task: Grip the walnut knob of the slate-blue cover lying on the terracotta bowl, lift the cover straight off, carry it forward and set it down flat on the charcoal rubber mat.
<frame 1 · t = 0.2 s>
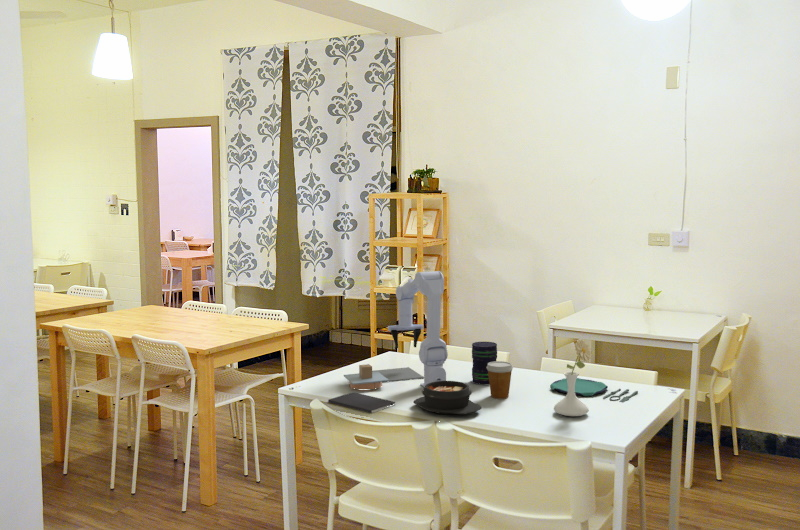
hand: (405, 347, 309), 10 cm above the table, tool pointing down, fingers open, 7 cm apart
cover: (365, 378, 286), point 3 cm above the table, touching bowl
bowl: (366, 386, 287), on the table
notebook: (362, 405, 263), on the table
storage jar: (484, 382, 291), on the table
casserole: (447, 410, 254), on the table
mat: (395, 375, 303), on the table
disposable coffee cup: (499, 397, 270), on the table
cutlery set: (591, 393, 274), on the table
flower in vase: (573, 414, 248), on the table
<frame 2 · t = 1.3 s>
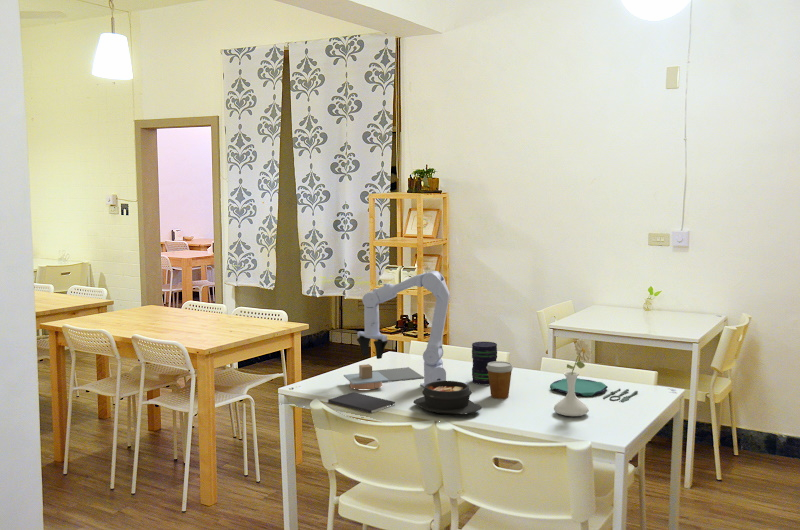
hand: (372, 357, 290), 10 cm above the table, tool pointing down, fingers open, 7 cm apart
nothing on the table moved.
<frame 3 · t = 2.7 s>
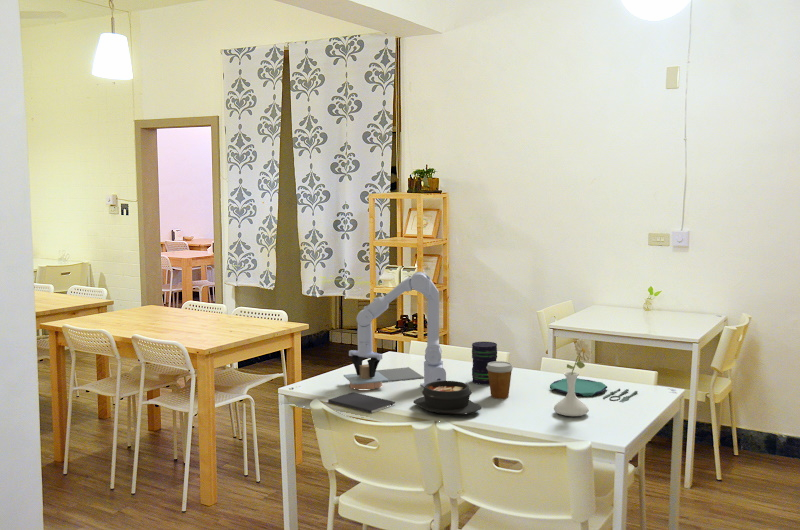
hand: (365, 376, 286), 4 cm above the table, tool pointing down, fingers closed on cover, 6 cm apart
cover: (365, 378, 286), point 3 cm above the table, touching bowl, gripper
everything else where it was.
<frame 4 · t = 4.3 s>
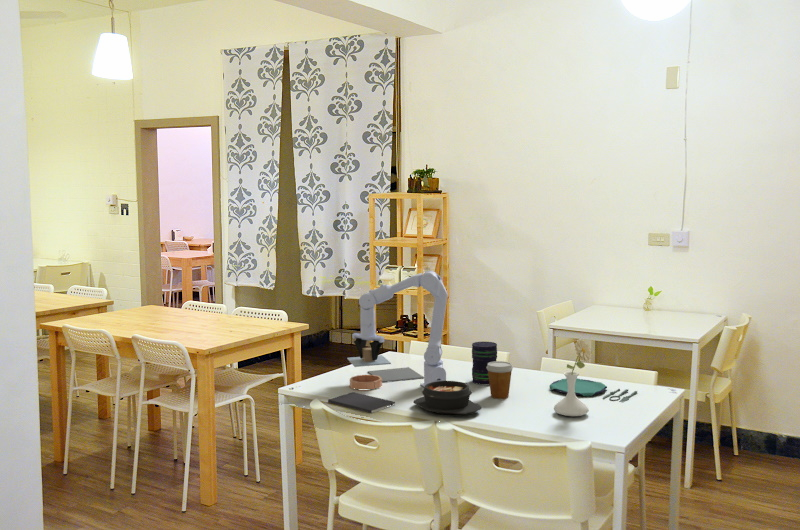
hand: (368, 358, 287), 10 cm above the table, tool pointing down, fingers closed on cover, 6 cm apart
cover: (368, 361, 287), point 9 cm above the table, touching gripper
everything else where it was.
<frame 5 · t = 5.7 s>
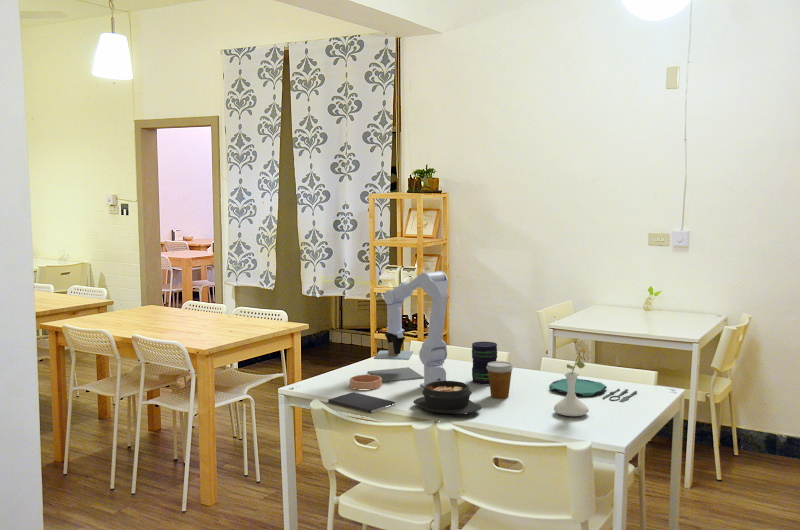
hand: (395, 352, 302), 9 cm above the table, tool pointing down, fingers closed on cover, 5 cm apart
cover: (394, 355, 302), point 8 cm above the table, touching gripper
everything else where it was.
when the fingers open (3 cm above the table, at t = 7.2 s): cover stays where it is, resting on mat.
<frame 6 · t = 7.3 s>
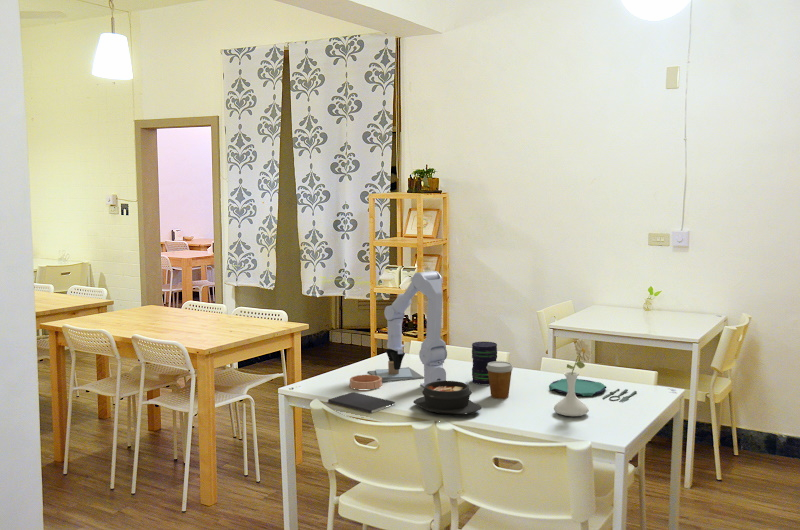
hand: (395, 368, 303), 3 cm above the table, tool pointing down, fingers open, 5 cm apart
cover: (393, 374, 303), point 1 cm above the table, touching mat
everything else where it was.
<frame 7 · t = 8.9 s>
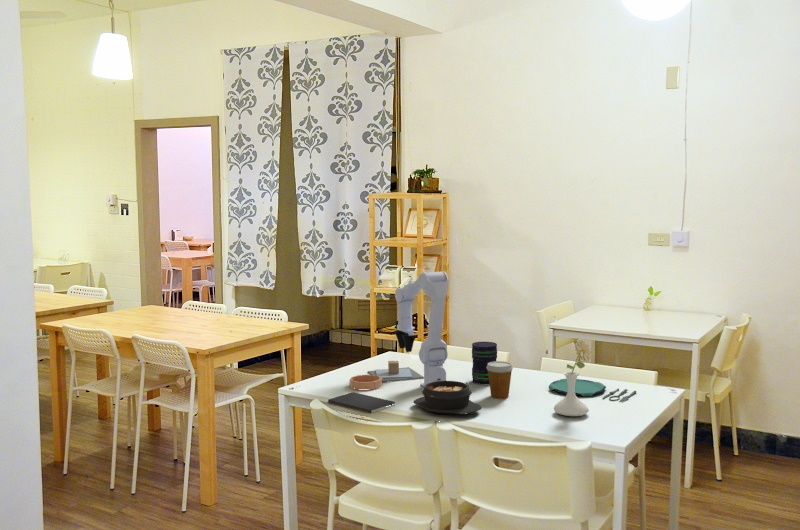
hand: (405, 349, 304), 10 cm above the table, tool pointing down, fingers open, 7 cm apart
nothing on the table moved.
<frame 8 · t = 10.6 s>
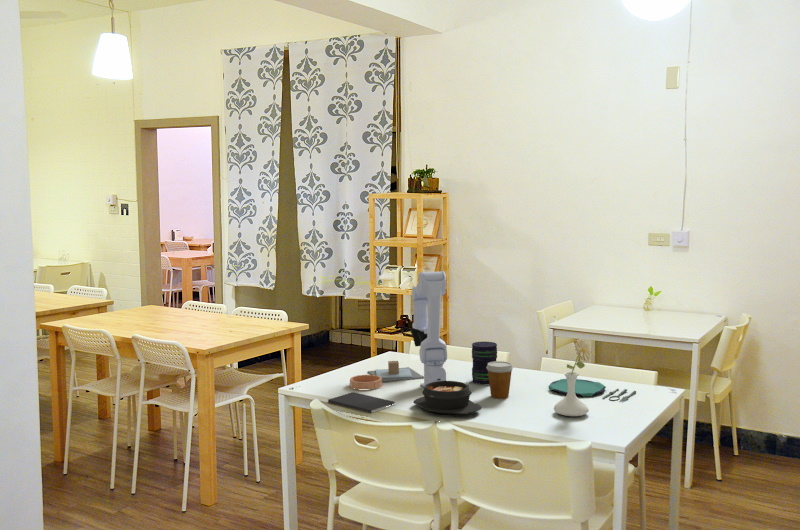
hand: (420, 347, 308), 10 cm above the table, tool pointing down, fingers open, 7 cm apart
nothing on the table moved.
at the end: cover inside the target area on the mat (0.7 cm from its centre), point 0.5 cm above the mat's base; cover touching mat; the gripper is holding nothing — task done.
